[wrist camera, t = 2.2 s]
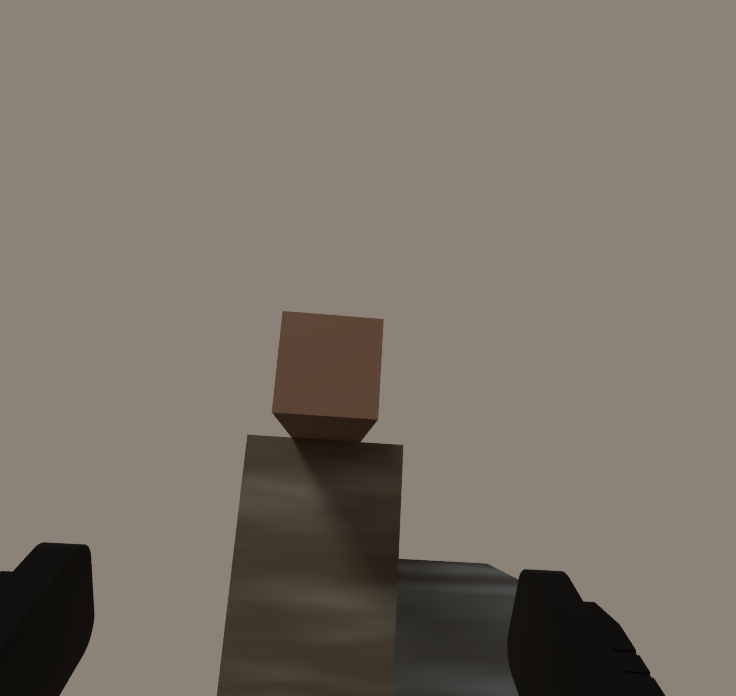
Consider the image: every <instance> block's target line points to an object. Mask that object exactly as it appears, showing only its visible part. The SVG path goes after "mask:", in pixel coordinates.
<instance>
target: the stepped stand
mask: <svg viewBox="0 0 736 696" xmlns="http://www.w3.org/2000/svg"><path fill="white" fill-rule="evenodd" d="M402 463H403V445H393V444H379V443H363V442H349V441H334V440H319V439H304V438H289V437H274V436H273V437H272V436H258V435H247V443H246V451H245V460H244V469H243V477H242V486H241V494H240V503H239V512H238V519H237V520H238V521H237V529H236V537H235V545H234V554H233V563H232V571H231V580H230V588H229V597H228V606H227V614H226V622H225V631H224V639H223V649H222V657H221V665H220V675H219V683H218V692H217V696H519V695H518V692H517V689H516V686H515V683H514V680H513V678H512V675H511V671H510V667H509V662H508V653H507V638H508V631H509V626H510V621H511V616H512V610H513V605H514V600H515V595H516V590H517V585H518V579H516V578H514V577H512V576H510V575H508V574H506V573H504V572H502V571H500V570H498V569H496V568H494V567H492V566H490V565H488V564H482V563H464V562H463V563H462V562H444V561H427V560H408V559H398V557H399V533H400V509H401V487H402V486H401V485H402Z"/></svg>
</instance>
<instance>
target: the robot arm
mask: <svg viewBox="0 0 736 696" xmlns="http://www.w3.org/2000/svg"><path fill="white" fill-rule="evenodd" d="M93 624H94V600H93V583H92V564H91V552H90V549H89V547H88V546H87V545H82V544H64V543H45V542H44V543H40V544H38V545H37V546H36V547H35V548H34V549H33V550H32V551H31V552H30V553H29V555H28V556H27V557H26V558H25V559H24V560H23V561H22V562H21V563H20V564H19V565H18V567H17V568H16V569H15V570H14V571H13V572H9V571H8V572H7V571H1V572H0V696H59V695H60V694H61V692H62V690H63V689H64V687H65V685H66V683H67V682H68V680H69V678H70V677H71V675H72V673H73V672H74V670H75V668H76V666H77V665H78V663H79V661H80V659H81V658H82V656H83V654H84V652H85V650H86V648H87V646H88V643H89V640H90V637H91V633H92V629H93ZM507 653H508V662H509V667H510V671H511V675H512V678H513V680H514V683H515V686H516V689H517V692H518V695H519V696H665V695H664V693H663V691H662V690H661V688H660V687H659V685H658V684H657V682H656V681H655V679H654V678H651V676H650V671H649V670H648V668H647V667H646V665H645V663H644V662H643V660H642V659H641V657H640V656H639V655H637V654H636V650H635V648H634V646H633V645H632V643H631V642H630V640H629V639H628V637H627V636H626V634H625V632H624V631H623V629H622V628H621V626H620V625H619V624H618V623H617V622H616V621H615V620H614V619H613V618H612V617H611V616H610V615H608V614H607V613H606V612H605V611H604V610H603V609H602V608H601V607H599V606H598V605H597V604H596V603H595V602H583V600H582V599H581V597H580V595H579V594H578V592H577V590H576V588H575V587H574V585H573V583H572V582H571V580H570V578H569V577H568V575H566V573H565V572H562V571H547V570H527V569H526V570H525V569H524V570H523V571H522V572H521V574H520V576H519V580H518V585H517V590H516V595H515V600H514V605H513V610H512V616H511V621H510V626H509V631H508V638H507Z"/></svg>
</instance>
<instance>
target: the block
mask: <svg viewBox="0 0 736 696" xmlns="http://www.w3.org/2000/svg"><path fill="white" fill-rule="evenodd" d="M382 338H383V319H374V318H362V317H349V316H336V315H324V314H312V313H300V312H287V311H283V313H282V322H281V331H280V341H279V351H278V360H277V369H276V378H275V388H274V397H273V407H272V413H273V414H274V415H275V417H276V418H277V419H278V421H279V422H280V423H281V424H282V426H283V427H284V428H285V430H286V431H287V432H288V433H289V435H290V436H291V437H292V438H304V439H319V440H334V441H349V442H361V440H362V439H363V438H364V437H365V435H366V434H367V432H368V431H369V430H370V429H371V428H372V426H373V425H374V424H375V423H376V421H377V420H378V409H379V391H380V373H381V356H382Z"/></svg>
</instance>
